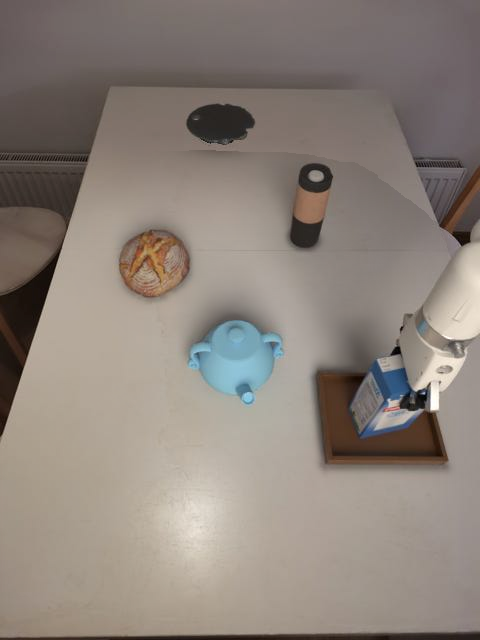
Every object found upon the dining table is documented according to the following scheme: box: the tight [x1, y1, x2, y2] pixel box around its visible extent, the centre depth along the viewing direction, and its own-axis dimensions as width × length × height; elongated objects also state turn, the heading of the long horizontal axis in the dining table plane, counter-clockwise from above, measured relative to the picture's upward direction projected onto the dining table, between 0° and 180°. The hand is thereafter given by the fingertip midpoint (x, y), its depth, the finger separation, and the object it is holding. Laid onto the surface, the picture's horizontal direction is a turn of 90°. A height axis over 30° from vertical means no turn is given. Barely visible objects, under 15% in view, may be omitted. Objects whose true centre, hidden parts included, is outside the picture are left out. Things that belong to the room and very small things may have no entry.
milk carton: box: [348, 353, 442, 439], centre depth 75 cm, size 10×6×20 cm, turn 103°
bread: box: [118, 229, 190, 298], centre depth 101 cm, size 16×20×10 cm
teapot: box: [187, 319, 285, 407], centre depth 83 cm, size 20×20×13 cm
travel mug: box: [290, 162, 334, 249], centre depth 103 cm, size 8×8×20 cm
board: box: [185, 102, 256, 145], centre depth 135 cm, size 22×22×5 cm
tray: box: [316, 371, 449, 466], centre depth 83 cm, size 22×18×3 cm
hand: (403, 382), depth 71 cm, fingers open, 8 cm apart
